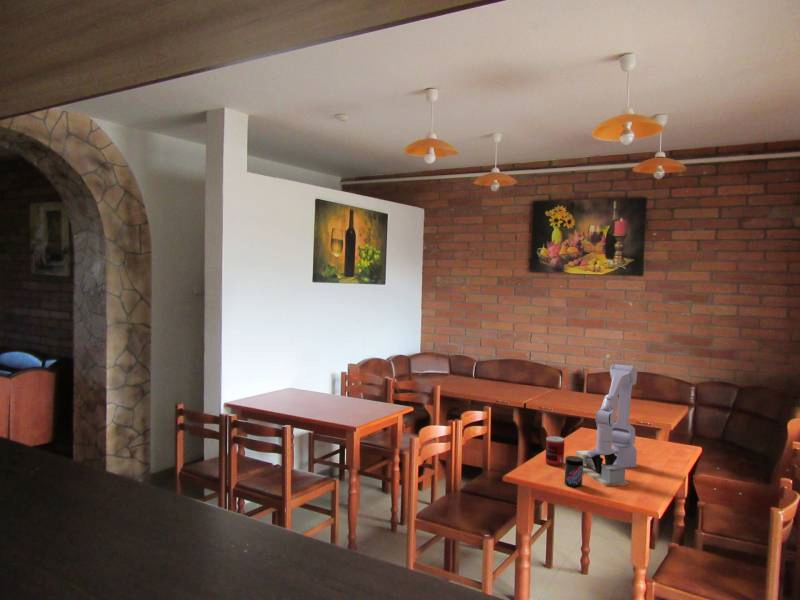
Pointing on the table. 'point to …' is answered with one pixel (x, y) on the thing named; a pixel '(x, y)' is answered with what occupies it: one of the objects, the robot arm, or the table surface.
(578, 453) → the sleeve
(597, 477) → the board
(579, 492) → the table surface
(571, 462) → the supplement container
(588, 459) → the tube
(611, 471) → the socket
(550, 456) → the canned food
